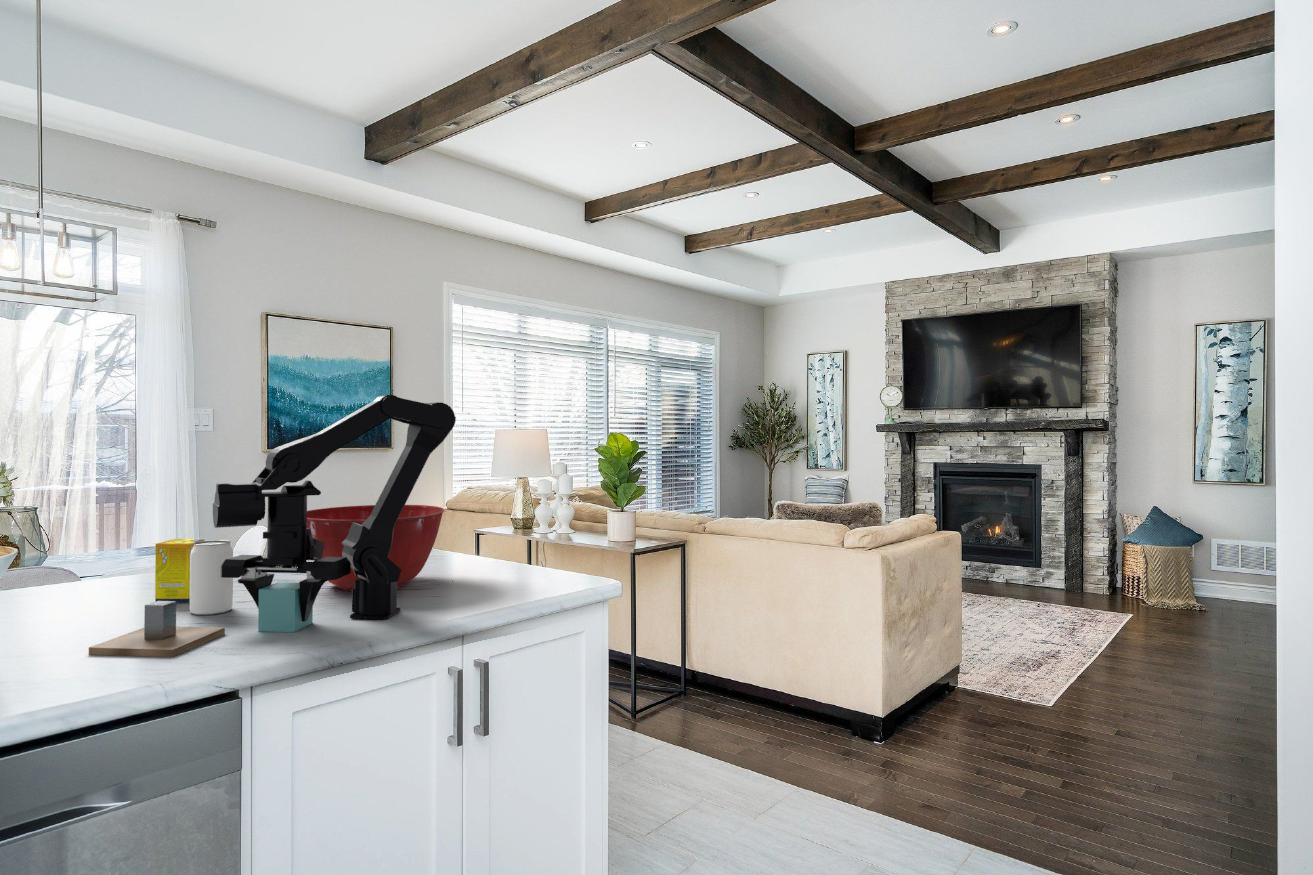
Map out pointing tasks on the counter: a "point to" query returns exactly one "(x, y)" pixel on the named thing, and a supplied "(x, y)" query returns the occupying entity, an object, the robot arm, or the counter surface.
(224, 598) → the can
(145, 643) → the base board
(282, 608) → the teal cube
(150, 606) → the post
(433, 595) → the counter surface
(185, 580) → the supplement box
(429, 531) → the mixing bowl
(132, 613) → the counter surface
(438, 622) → the counter surface
